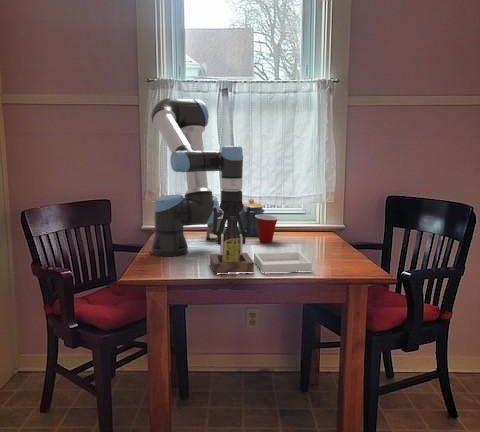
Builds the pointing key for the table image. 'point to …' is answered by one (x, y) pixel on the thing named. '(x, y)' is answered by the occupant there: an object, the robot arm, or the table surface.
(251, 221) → the canister
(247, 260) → the walnut holder
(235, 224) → the sauce bottle
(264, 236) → the plastic cup
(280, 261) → the plastic tray
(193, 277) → the table surface
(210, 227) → the figurine
